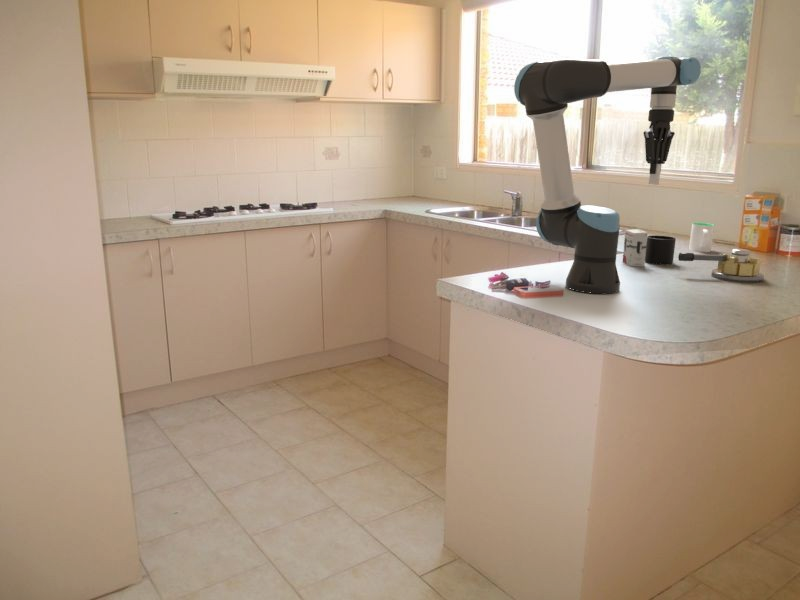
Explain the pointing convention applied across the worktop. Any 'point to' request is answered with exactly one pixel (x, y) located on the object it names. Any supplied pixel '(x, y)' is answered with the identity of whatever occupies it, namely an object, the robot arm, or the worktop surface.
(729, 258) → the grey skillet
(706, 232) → the mug
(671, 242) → the mug
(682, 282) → the worktop surface
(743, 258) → the flange
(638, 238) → the ink box
